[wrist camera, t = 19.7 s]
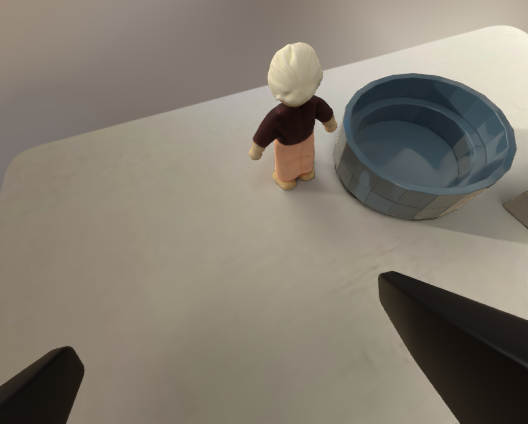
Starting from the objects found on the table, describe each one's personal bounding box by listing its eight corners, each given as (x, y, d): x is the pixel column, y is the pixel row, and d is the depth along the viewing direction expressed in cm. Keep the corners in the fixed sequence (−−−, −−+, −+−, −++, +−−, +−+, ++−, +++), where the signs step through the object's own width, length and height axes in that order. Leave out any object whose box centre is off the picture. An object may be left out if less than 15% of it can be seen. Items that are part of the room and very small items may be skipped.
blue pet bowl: (344, 226, 22) (360, 200, 18) (324, 119, 28) (332, 80, 23) (495, 217, 22) (551, 188, 17) (443, 110, 27) (475, 67, 23)
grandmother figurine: (307, 146, 27) (324, 9, 15) (331, 169, 25) (370, 36, 14) (248, 183, 25) (219, 62, 14) (270, 209, 24) (257, 99, 12)
